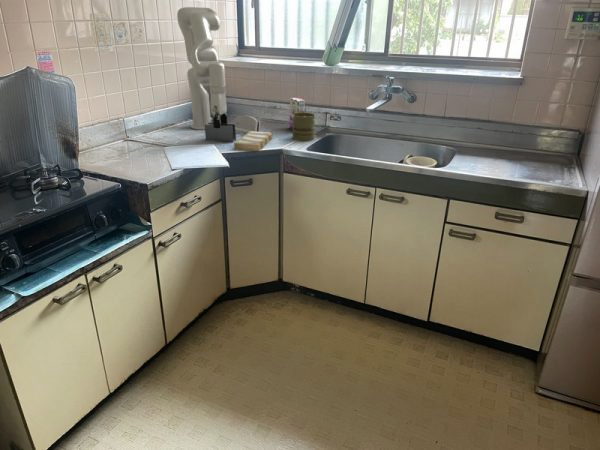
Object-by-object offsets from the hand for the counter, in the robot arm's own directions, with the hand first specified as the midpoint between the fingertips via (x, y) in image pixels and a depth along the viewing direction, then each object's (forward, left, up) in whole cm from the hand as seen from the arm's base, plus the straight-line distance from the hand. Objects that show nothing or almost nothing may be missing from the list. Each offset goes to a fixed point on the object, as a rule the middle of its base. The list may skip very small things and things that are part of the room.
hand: (220, 126), depth 218 cm
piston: (-16, +38, -8) cm, 42 cm away
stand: (+1, +17, -7) cm, 19 cm away
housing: (-1, -1, -7) cm, 7 cm away
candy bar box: (-34, +31, -8) cm, 47 cm away
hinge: (-20, +7, -8) cm, 22 cm away
